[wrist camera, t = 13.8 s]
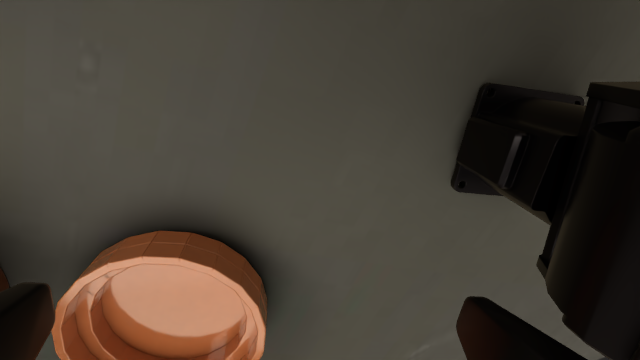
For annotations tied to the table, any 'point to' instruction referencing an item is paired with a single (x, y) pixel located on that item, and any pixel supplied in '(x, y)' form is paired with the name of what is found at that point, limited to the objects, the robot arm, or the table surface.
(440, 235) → the table surface
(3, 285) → the food container
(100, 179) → the table surface
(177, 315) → the pan
